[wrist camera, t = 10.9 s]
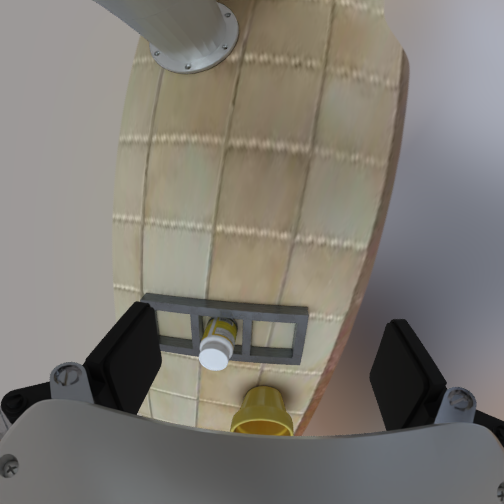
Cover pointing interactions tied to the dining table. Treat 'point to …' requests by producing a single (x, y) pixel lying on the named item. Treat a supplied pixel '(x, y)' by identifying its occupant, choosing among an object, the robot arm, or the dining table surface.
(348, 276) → the dining table surface
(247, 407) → the plant pot
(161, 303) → the grey long slotted tray
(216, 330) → the supplement bottle
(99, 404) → the robot arm
